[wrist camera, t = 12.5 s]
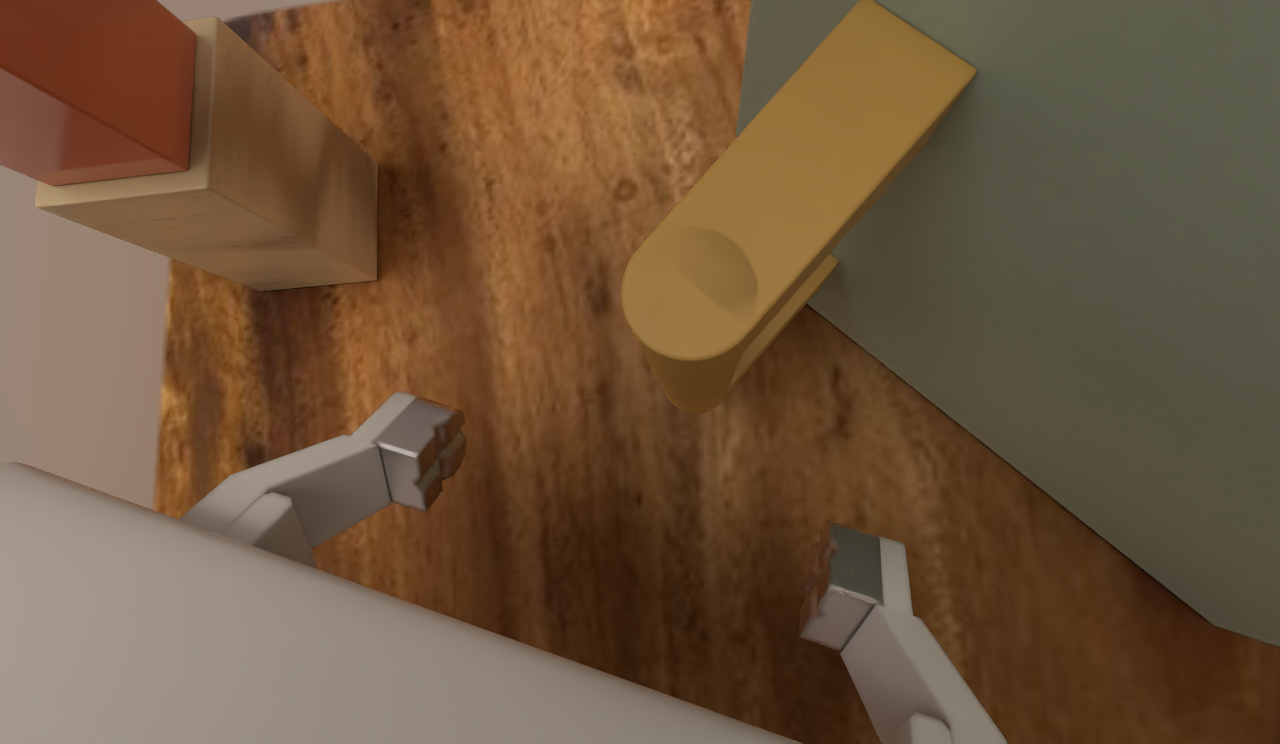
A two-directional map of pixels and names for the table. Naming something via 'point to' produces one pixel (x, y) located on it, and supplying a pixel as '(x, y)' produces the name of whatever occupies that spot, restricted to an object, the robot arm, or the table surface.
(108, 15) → the block
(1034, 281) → the door
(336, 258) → the stand
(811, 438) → the table surface
